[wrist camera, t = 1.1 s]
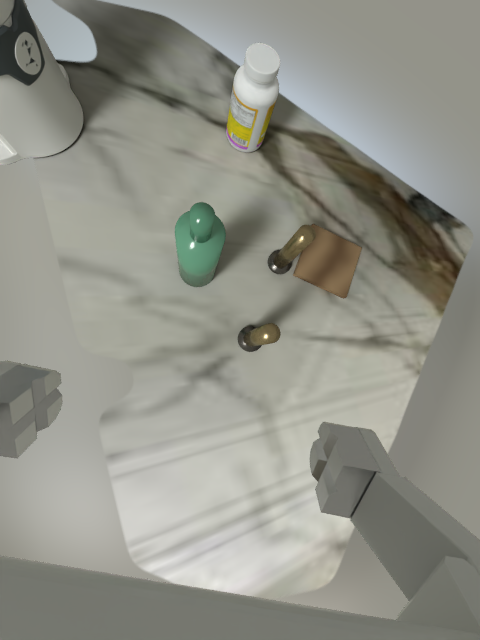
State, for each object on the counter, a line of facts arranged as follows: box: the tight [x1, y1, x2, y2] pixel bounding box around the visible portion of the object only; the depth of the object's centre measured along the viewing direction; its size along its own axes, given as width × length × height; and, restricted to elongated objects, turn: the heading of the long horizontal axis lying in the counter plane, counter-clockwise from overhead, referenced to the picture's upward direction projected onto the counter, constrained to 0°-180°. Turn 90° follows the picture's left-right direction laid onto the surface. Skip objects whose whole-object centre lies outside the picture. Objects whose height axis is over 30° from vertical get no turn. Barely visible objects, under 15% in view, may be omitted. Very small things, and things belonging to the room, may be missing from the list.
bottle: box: [175, 202, 226, 287], centre depth 34 cm, size 6×6×17 cm
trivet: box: [293, 224, 362, 298], centre depth 46 cm, size 10×10×1 cm
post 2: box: [268, 225, 316, 274], centre depth 40 cm, size 4×4×11 cm
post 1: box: [238, 323, 280, 352], centre depth 37 cm, size 4×4×11 cm
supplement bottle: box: [226, 43, 280, 152], centre depth 41 cm, size 7×7×13 cm
